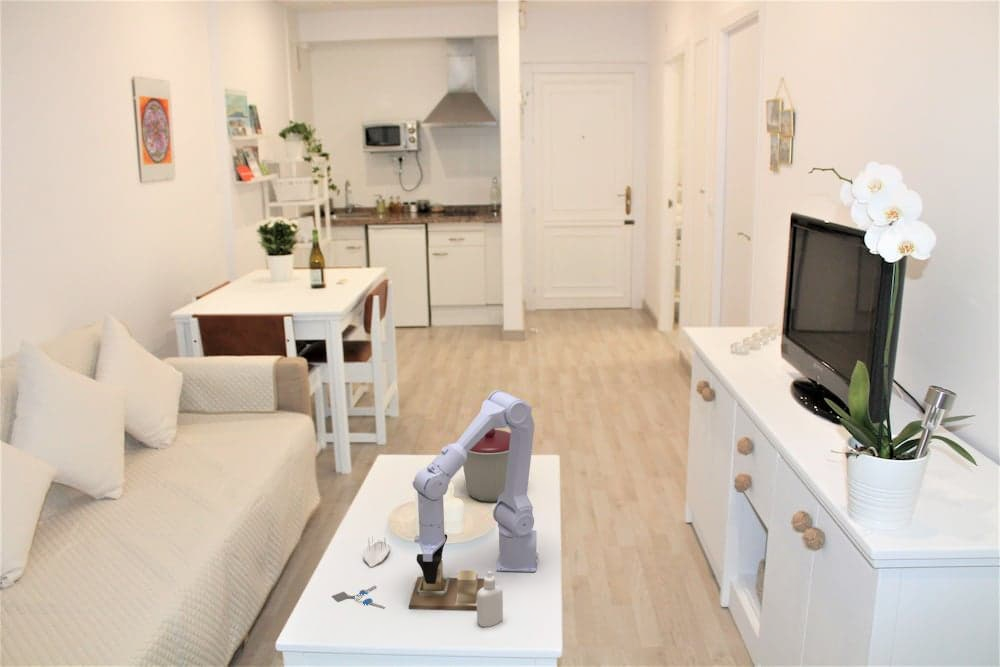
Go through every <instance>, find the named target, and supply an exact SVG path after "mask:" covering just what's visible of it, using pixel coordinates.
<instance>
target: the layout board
mask: <svg viewBox="0 0 1000 667" xmlns="http://www.w3.org/2000/svg"><path fill="white" fill-rule="evenodd" d="M482 587H484V578H478V570H463V569H462V570H459V571H458V576H457V577H450V576H443V586H442V590H441V591H424V588H423V575H422V576H417V578H416V581H415V584H414V587H413V589H412V590H413V591H412V594H411V597H410V601H409V603H408V609H409V610H437V611H438V610H440V611H473V612H474V611H475V612H477V592H478V591H479V590H480V589H481V588H482Z"/></svg>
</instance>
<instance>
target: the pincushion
mask: <svg viewBox="0 0 1000 667" xmlns="http://www.w3.org/2000/svg"><path fill="white" fill-rule="evenodd" d="M371 539H372V540H371V541H372V542H371V543H370V540H369V538H368V539H367V540H368V543H367V544H368V545H367V546H366V548H365V550H364V553H363V554H364V555H363V559H364V561H365V562H366V564H367V565H368V566H369V568H372V567H374V566H376V565H378V564H379V563H381V562H383V561H384V559H385V558H386V557H387V555H388V554H389V552H390V550H391V545H390V544H389V543H387V542H386V539H383V540H384V541H383V540H378V541H377V540H376V541H373V536H372V538H371Z"/></svg>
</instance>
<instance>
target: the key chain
mask: <svg viewBox="0 0 1000 667" xmlns="http://www.w3.org/2000/svg"><path fill="white" fill-rule="evenodd" d="M375 589H377V585H373V586H371V587H369V588H367V589H361V590H360V591H359V593H358V594H356V595H349V594H348V593H346V591H342V592H338V593H336V594H333V595H331V597H332V598H333V599H334V600H335V602H337V603H340V602H343V601H345V600H348V599H349V600H353V599H354V600H353V601H357V602H359V603H360V602H361V603H362V605H363V604H364V605H363V606H365V604H366V605H367V606H369V605H371V604H372V605H371V606H374V605H375V606H374V607H377V606H378V608H380V607H381V609H384V608H385V609H386V606H384V605H382V604H377V603H375V602H373V599H372V598H371V597H369V598H368V597H367V598H366V599H364V600H362V599H363V596H365V595H364V594H367V595H368V594H369V592H368V591H370V592H372V591H373V590H375ZM371 590H372V591H371ZM359 594H360V595H359ZM361 594H362V595H361ZM357 595H359V596H361V597H359V596H357ZM355 596H356V597H357V598H356V597H355ZM358 597H359V598H358ZM361 598H362V599H361ZM355 599H356V600H355ZM360 599H361V600H360ZM368 604H369V605H368Z"/></svg>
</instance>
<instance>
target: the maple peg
mask: <svg viewBox="0 0 1000 667" xmlns="http://www.w3.org/2000/svg"><path fill="white" fill-rule="evenodd" d="M443 568H444V566H443V559H441V562H440V564H439V566H438V570H437V578H436V582H435V584H426V581H425V578H424V574H423V573H422V576H423V588H424V591H441V590H442V586H443V577H444V574H443V573H444V572H443V570H444V569H443Z"/></svg>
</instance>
